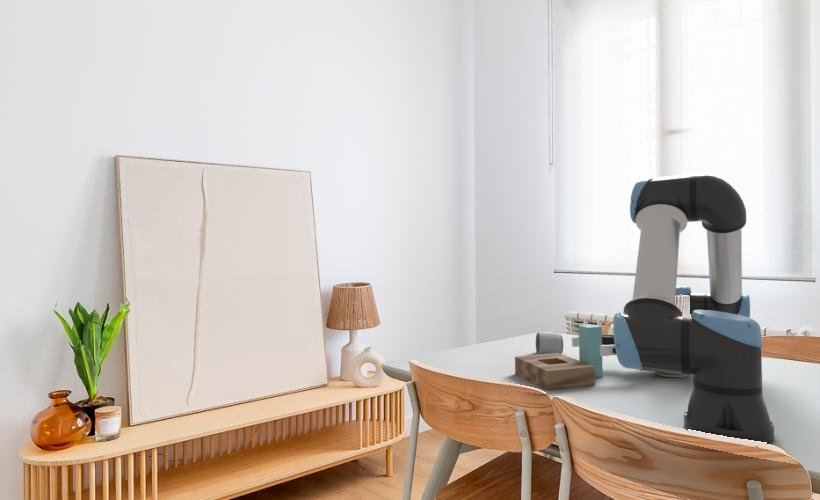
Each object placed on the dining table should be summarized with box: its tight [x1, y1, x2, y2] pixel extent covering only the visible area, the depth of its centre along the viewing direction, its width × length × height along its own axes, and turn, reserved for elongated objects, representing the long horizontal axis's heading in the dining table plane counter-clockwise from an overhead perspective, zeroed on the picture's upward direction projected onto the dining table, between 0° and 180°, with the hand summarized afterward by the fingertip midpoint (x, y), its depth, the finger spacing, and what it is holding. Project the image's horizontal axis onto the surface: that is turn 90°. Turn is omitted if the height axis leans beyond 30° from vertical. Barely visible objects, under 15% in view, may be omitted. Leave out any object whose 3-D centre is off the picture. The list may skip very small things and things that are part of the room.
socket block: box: [514, 353, 596, 391], centre depth 144 cm, size 18×14×5 cm
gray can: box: [535, 331, 564, 355], centre depth 176 cm, size 11×8×8 cm
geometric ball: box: [607, 323, 614, 335], centre depth 191 cm, size 8×8×8 cm
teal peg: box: [578, 324, 604, 378], centre depth 147 cm, size 4×4×14 cm
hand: (586, 346), depth 147 cm, fingers open, 13 cm apart
